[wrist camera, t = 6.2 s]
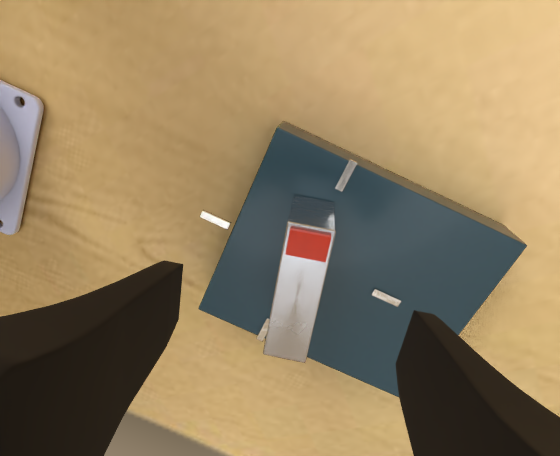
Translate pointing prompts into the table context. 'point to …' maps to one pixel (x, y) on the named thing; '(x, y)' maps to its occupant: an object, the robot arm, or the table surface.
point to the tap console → (358, 255)
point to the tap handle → (300, 277)
